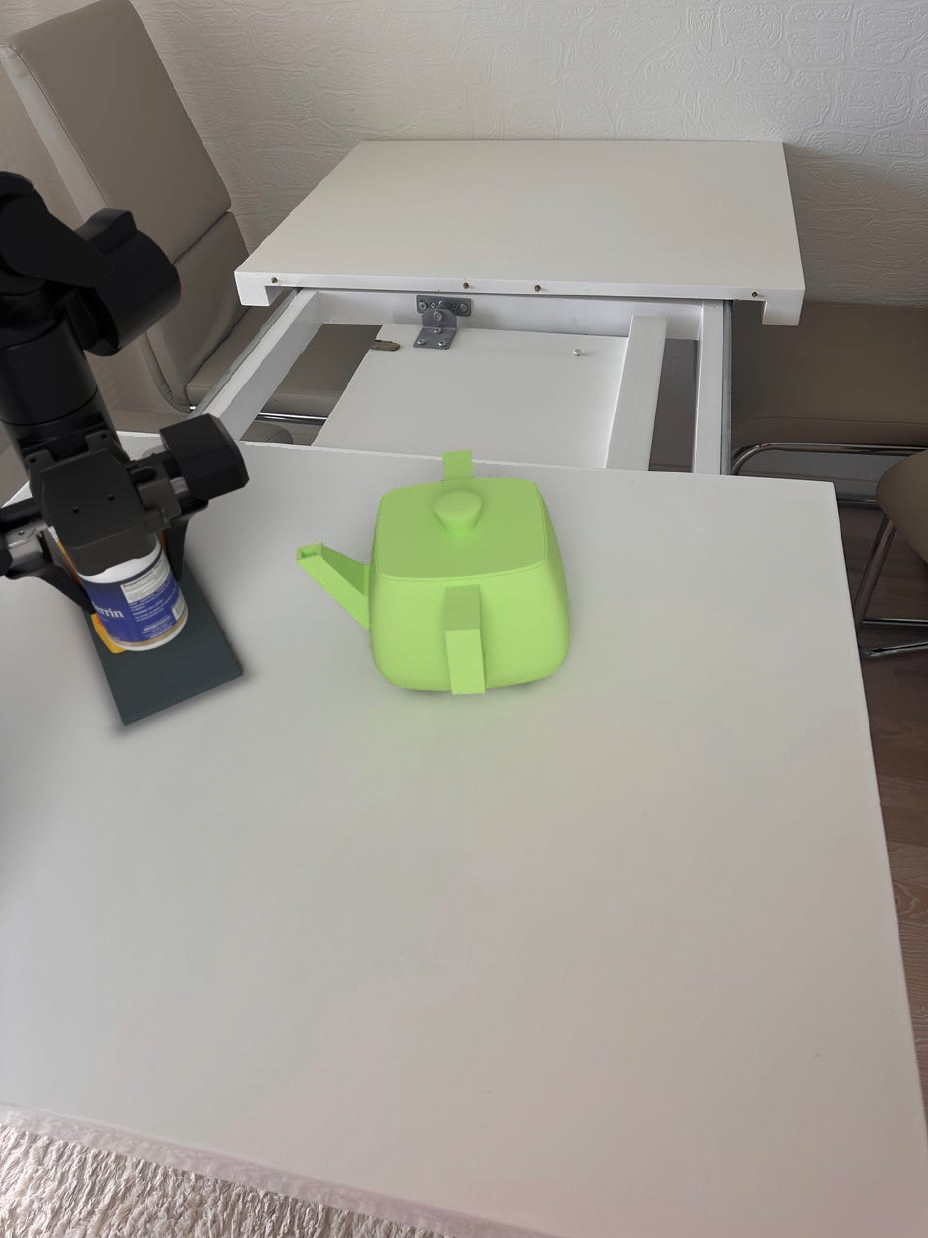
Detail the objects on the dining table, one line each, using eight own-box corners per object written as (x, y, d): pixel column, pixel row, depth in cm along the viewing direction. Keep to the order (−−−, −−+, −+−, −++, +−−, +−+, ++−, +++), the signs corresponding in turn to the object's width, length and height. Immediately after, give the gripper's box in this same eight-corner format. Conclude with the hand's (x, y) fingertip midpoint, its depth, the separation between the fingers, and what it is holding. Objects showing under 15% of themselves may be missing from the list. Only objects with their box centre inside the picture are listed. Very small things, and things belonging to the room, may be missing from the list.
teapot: (313, 756, 65) (269, 624, 56) (333, 560, 79) (301, 428, 70) (582, 737, 64) (584, 600, 55) (555, 542, 78) (552, 407, 69)
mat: (124, 726, 68) (122, 721, 68) (62, 555, 82) (60, 550, 82) (242, 675, 71) (240, 670, 70) (163, 517, 85) (161, 512, 84)
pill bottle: (93, 629, 67) (37, 520, 60) (160, 585, 70) (114, 476, 63) (138, 667, 64) (85, 557, 57) (206, 619, 67) (163, 509, 60)
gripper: (-114, 532, 46) (18, 730, 57) (246, 408, 52) (303, 611, 63) (-130, 425, 53) (-10, 619, 65) (188, 326, 59) (248, 521, 70)
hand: (135, 594), depth 65 cm, fingers closed on pill bottle, 6 cm apart
